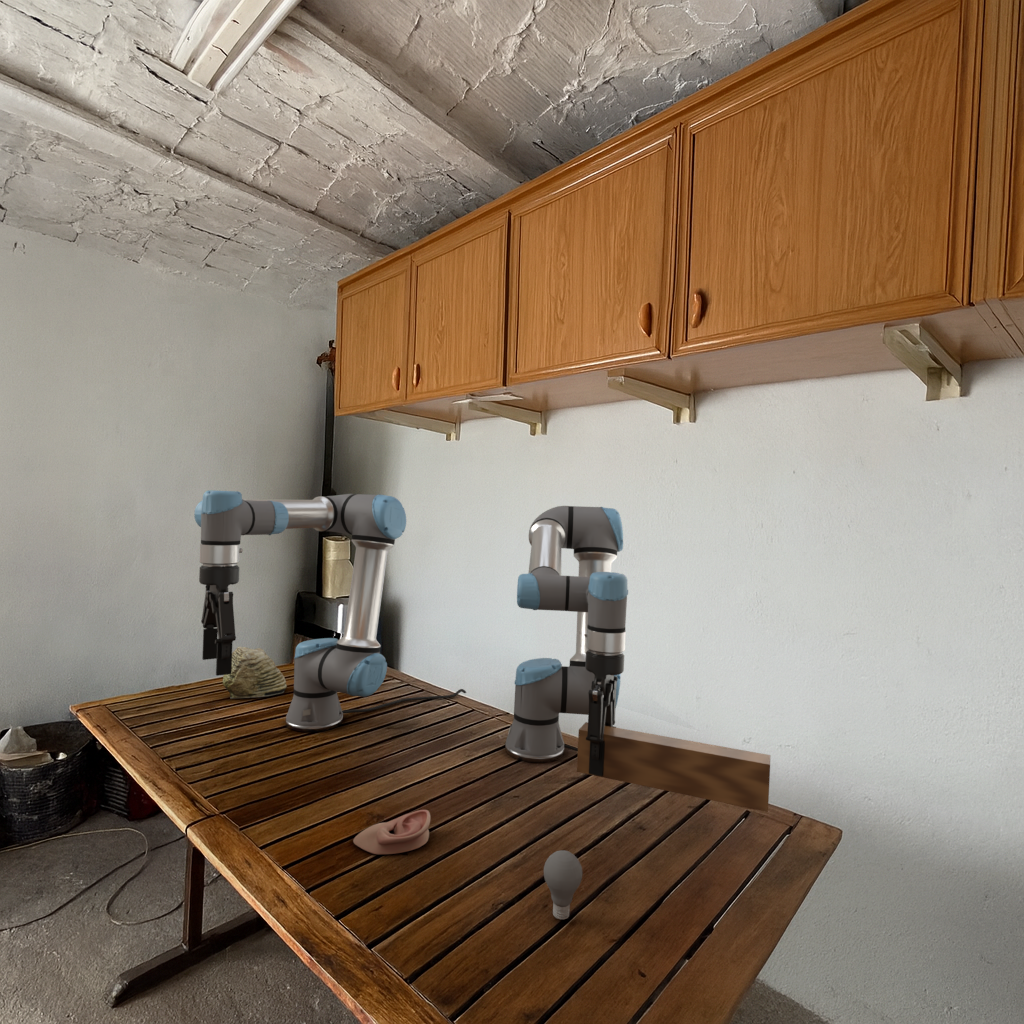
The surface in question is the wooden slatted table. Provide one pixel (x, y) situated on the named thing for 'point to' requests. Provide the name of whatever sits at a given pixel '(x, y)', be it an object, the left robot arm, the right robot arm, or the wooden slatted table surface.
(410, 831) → the anatomical model
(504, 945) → the wooden slatted table surface
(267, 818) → the wooden slatted table surface
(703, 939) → the wooden slatted table surface
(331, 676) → the left robot arm
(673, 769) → the bar
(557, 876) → the light bulb
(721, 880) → the wooden slatted table surface
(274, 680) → the fossil
